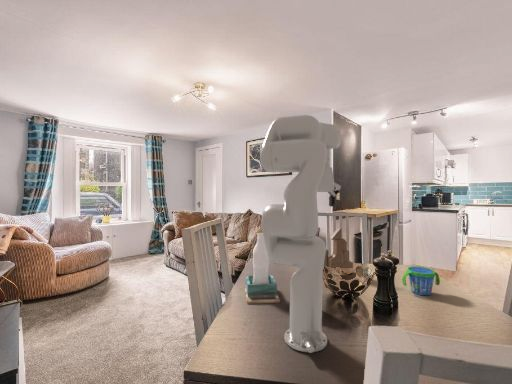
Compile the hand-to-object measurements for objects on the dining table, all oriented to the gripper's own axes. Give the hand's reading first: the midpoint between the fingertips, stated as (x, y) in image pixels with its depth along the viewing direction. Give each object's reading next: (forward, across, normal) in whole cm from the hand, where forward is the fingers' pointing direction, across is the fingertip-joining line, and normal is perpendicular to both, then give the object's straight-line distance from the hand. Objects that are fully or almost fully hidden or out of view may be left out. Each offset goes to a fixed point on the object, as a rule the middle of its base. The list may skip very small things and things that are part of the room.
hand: (319, 206), depth 109 cm
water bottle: (+38, -23, +9) cm, 45 cm away
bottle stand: (+38, -23, +7) cm, 45 cm away
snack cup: (+38, +47, +3) cm, 61 cm away
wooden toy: (+39, +21, +32) cm, 54 cm away
